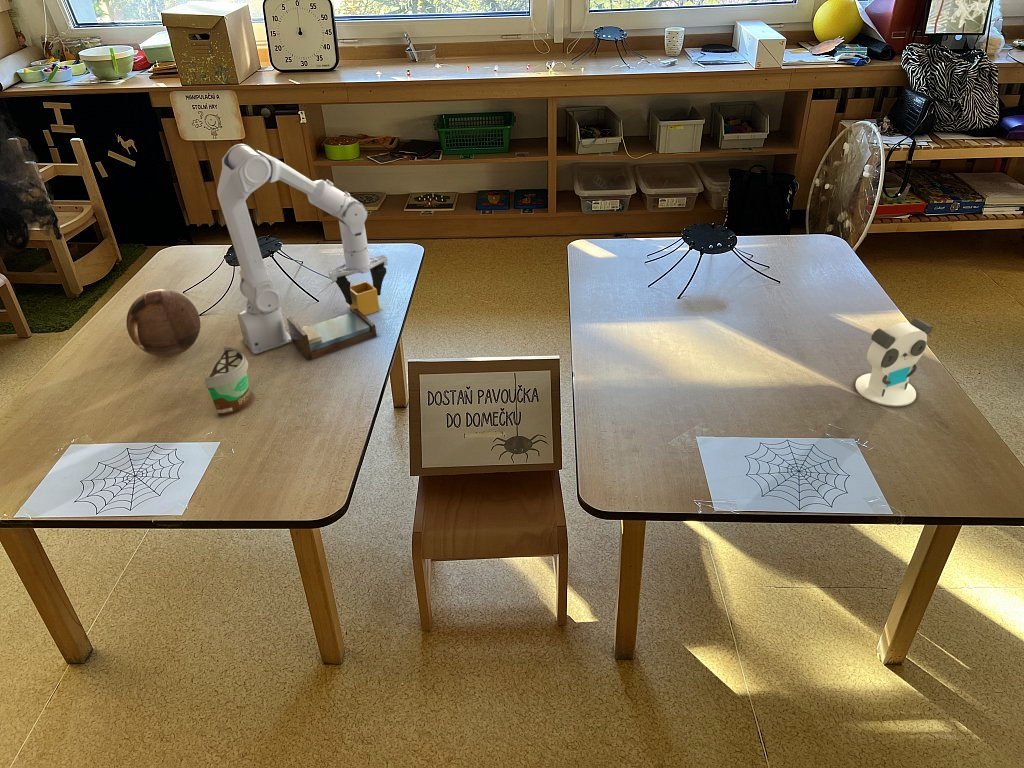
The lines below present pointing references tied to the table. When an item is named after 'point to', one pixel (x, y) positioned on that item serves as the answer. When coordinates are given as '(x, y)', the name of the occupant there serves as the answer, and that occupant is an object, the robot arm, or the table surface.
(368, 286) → the small bin
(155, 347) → the wooden sphere
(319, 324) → the toy bed
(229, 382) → the food container
